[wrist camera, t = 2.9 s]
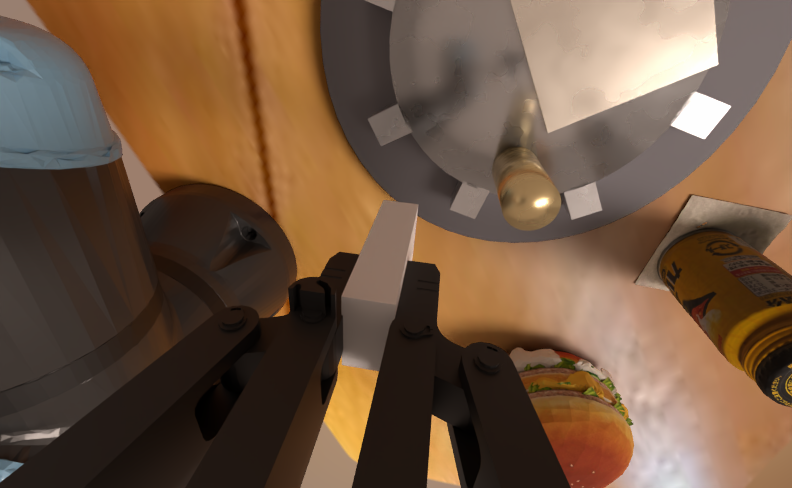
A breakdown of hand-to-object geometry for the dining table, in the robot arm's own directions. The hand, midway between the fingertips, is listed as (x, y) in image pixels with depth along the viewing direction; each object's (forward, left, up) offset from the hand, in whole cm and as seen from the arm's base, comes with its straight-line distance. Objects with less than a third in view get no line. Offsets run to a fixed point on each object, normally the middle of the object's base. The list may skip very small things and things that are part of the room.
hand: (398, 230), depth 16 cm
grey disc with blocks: (+7, +7, -13) cm, 16 cm away
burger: (+16, -24, -14) cm, 32 cm away
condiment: (+24, -6, -14) cm, 28 cm away
